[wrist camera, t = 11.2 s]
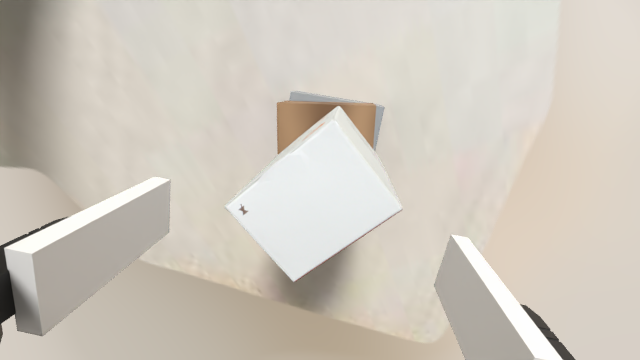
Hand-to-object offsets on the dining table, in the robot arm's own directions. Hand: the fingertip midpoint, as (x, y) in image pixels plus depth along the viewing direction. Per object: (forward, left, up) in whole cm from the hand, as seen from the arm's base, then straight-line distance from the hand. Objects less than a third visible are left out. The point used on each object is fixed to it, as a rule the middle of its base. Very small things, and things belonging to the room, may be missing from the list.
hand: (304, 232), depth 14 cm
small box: (0, 0, -16) cm, 16 cm away
